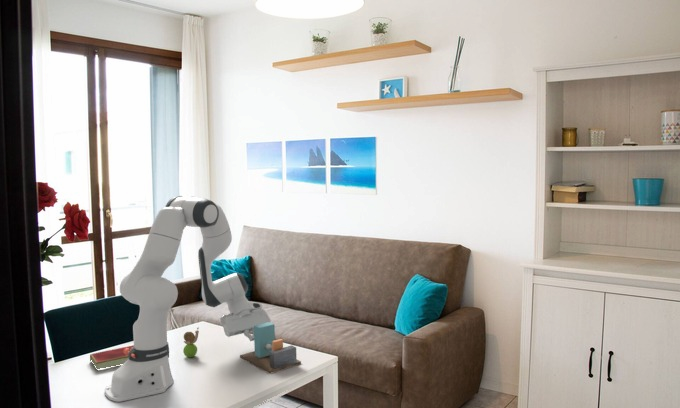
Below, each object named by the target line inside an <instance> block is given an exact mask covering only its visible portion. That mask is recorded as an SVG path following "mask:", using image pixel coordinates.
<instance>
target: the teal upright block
mask: <svg viewBox="0 0 680 408" xmlns="http://www.w3.org/2000/svg"><path fill="white" fill-rule="evenodd" d="M275 326H276V325H275V323H272V322H267V323H263V324H259V325H255V326H254V333H253V335H254V341H253V345H254V351H255V356H257V357H259V358H262V357H266V356H269V355H270V351H272V341H275V340H276V338H275V337H276V335H275V334H276V333H275V332H276V331H275Z"/></svg>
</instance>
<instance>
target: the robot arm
mask: <svg viewBox="0 0 680 408" xmlns="http://www.w3.org/2000/svg"><path fill="white" fill-rule="evenodd" d="M228 221H229V220H228V219H227V217H226V214H225V212H224V210H223V209H222V207H221V206H220V205H219V204H216V203H215V202H214V201H213V200H210V199H207V198H201V197H196V196H188V195H187V196H182V195H179V196H178V195H177V196H174V197H172V198H170V199H169V200H168V202H167V203H166V205H165V207H162V208H161V209H160V210H159V211H158V212H157V215H156V216H155V218H154V221H153V222H152V225H151V227H150V230H149V232H148V233H149V234H148V236H147V239H146V242H145V245H144V248H143V251H142V253H141V256H140V258H139V259H138V261H137V262H136V264H135V265H134V266H133V269H132V270H131V271H130V272H129V274H127V275H126V276H124V277H123V278H122V280H121V281H120V283H119V293H120V295H121V296H122V297H123V298H124V299H125V300H126V301H128V302H129V303H131V304H134V305H138V306H139V314H138V318H137V320H135V321H134V323H133V325H132V335H133V336H132V337H133V338H132V339H133V345H134V346H133V348H132V349H131V350H130V349H129V348H125V350H124V353H125V354H126V355H128V357H129V359H128V360H127V361H126V362H125V363H124V364H123V365H122V366H119V367H117V369H116V370H114V372H113V374H112V377H111V384H110V385H107V386H106V387H105V389H104V395H105V396H106V398H107V399H108V400H110V401H113V402H119V403H120V402H124V401H130V400H133V399H139V398H144V397H147V396H152V395H156V394H163V393H165V392H166V391H167V389H168V388H169V387H170V386H172V384H173V383H174V382H175V381H174V380H175V379H174V378H173V375H172V371H171V368H170V360H169V358H170V348H169V342H168V331H167V330H168V329H167V327H168V325H167V324H168V317H169V312H170V310H171V308H172V307H173V306H174V305H175V303H176V301H177V299H178V295H179V292H178V287H177V285H176V284H175V283H174V282H173V281H171V280H169V279H168V278H166V277H162V276H163V274H164V273H165V271H166V270H167V269H168V268H170V267H171V266H172V265H173V264H174V262H175V260H176V257H177V255H178V251H179V247H180V245H181V240H182V238H183V237H182V236H183V233H184V229H186V227H193V228H199V230H200V232H201V237H202V245H201V247H200V248H199V249H198V256H197V257H198V267H199V274H200V283H201V284H200V285H201V298H202V301H203V303H204V304H205V306H208V307H211V308H216V307H218V306H221V305H222V304H223V303H226V305H227V306H228V308H227V309H228V311H229V313H228V314H223V315H221V317H220V318H219V319H220V323H221V325H222V327H223V332H224V334H225V336H226V337H228V338H230V337H233V336H238V335H241V334H244V336H245V337H246V338H247V339H249V342H254V326H255V325H259V324H263V323H267V322H270V323H272V322H271V321H272V320H271V318H270V316H269V314H268V312H267V311H266V310H265V309H264V308H263V305H262V303H259V302H252V301H249V299H248V298H247V297H246V295H247V293H248V289H249V285H248V283H247V281H246V280H245V276H244V275H243V274H241V273H239V272H234V273H231V274H228V275H226V276H224V277H222V278H218V279H216V280H213V278H212V277H213V276H212V269H211V268H212V264H213V262H214V261H215V260H216V259H217V258H219V256H220V255H222V254H223V253H225V252H226V250H227V249H228V248H229V247H230V246H231V243H232V240H233V239H232V238H233V236H232V231H231V227H230V224H229V222H228ZM250 332H251V334H250Z"/></svg>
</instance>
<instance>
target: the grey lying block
mask: <svg viewBox="0 0 680 408" xmlns="http://www.w3.org/2000/svg"><path fill="white" fill-rule="evenodd" d="M297 360H298V358H297V346H294V345H288V346H283V348H281V349H277V350H274V351H270V367H271V368H273V369H274V370H275V369H278V368H281V367H284V366H287V365H291V364H294V363H297Z"/></svg>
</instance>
